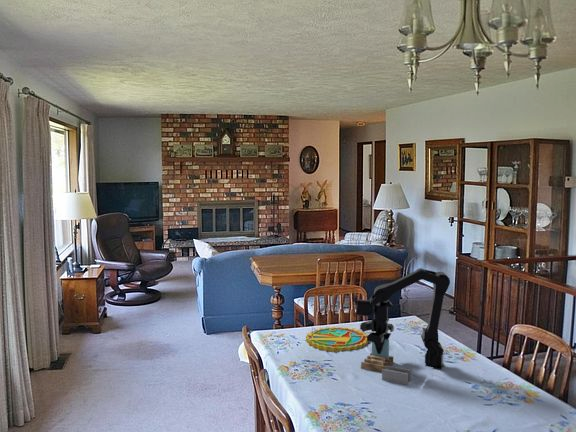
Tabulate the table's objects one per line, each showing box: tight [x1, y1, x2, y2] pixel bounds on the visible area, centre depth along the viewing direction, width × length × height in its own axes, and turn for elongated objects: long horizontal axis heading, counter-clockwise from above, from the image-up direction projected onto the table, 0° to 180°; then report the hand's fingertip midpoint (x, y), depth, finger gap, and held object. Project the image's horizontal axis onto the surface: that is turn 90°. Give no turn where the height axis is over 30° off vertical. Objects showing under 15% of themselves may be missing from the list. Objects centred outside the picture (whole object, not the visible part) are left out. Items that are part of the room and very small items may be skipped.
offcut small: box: [371, 359, 384, 365], centre depth 208 cm, size 5×2×4 cm, turn 62°
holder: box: [381, 365, 412, 385], centre depth 198 cm, size 10×5×4 cm, turn 62°
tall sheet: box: [371, 339, 390, 359], centre depth 215 cm, size 7×2×10 cm, turn 62°
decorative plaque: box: [305, 326, 369, 353], centre depth 244 cm, size 30×3×30 cm
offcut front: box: [369, 355, 385, 362], centre depth 212 cm, size 6×2×4 cm, turn 62°
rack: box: [359, 352, 395, 373], centre depth 212 cm, size 11×12×3 cm
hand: (380, 352), depth 215 cm, fingers open, 4 cm apart
